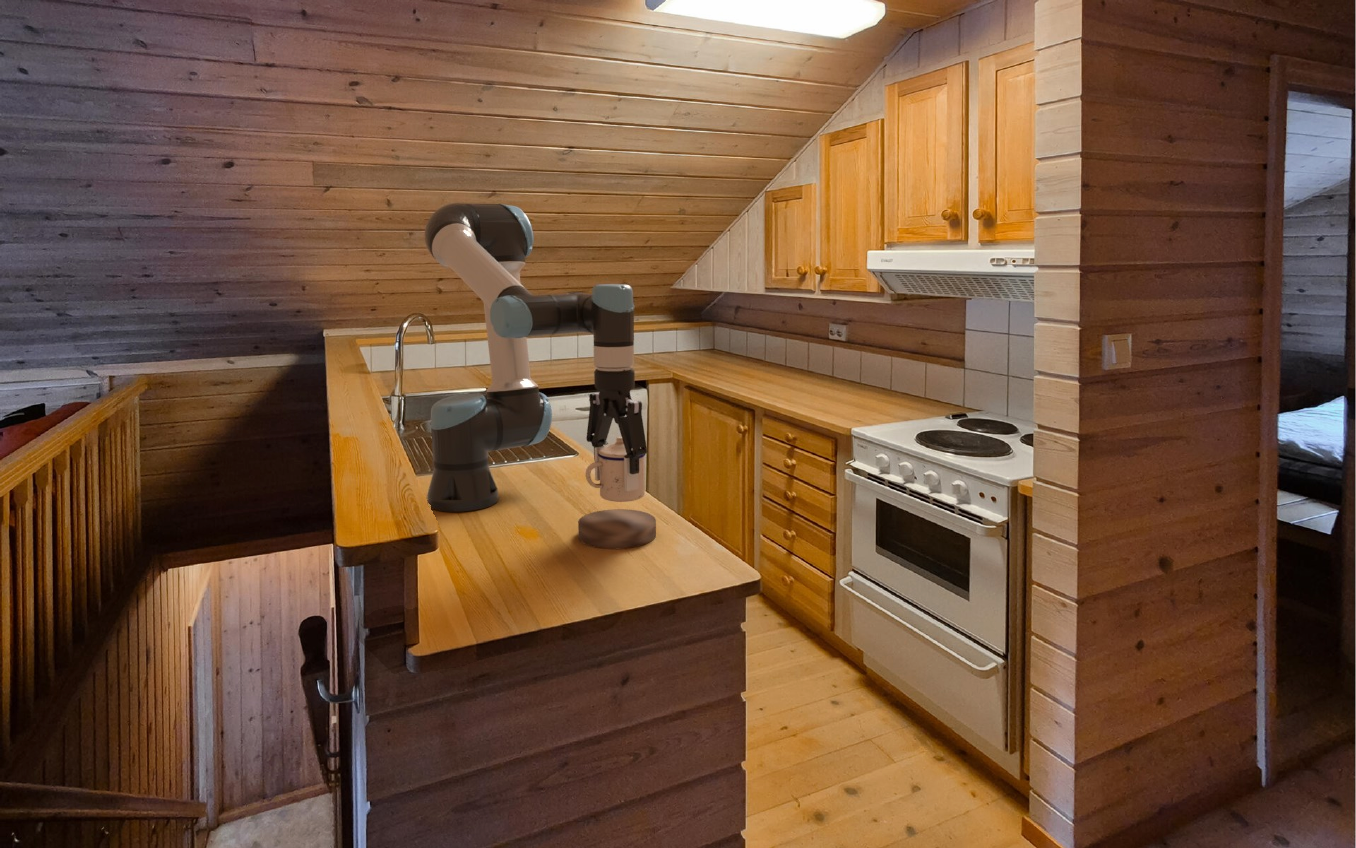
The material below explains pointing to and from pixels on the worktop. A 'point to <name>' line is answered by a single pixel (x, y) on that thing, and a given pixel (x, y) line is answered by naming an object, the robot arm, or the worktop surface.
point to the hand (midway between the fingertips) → (616, 484)
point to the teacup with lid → (615, 474)
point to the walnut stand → (617, 528)
